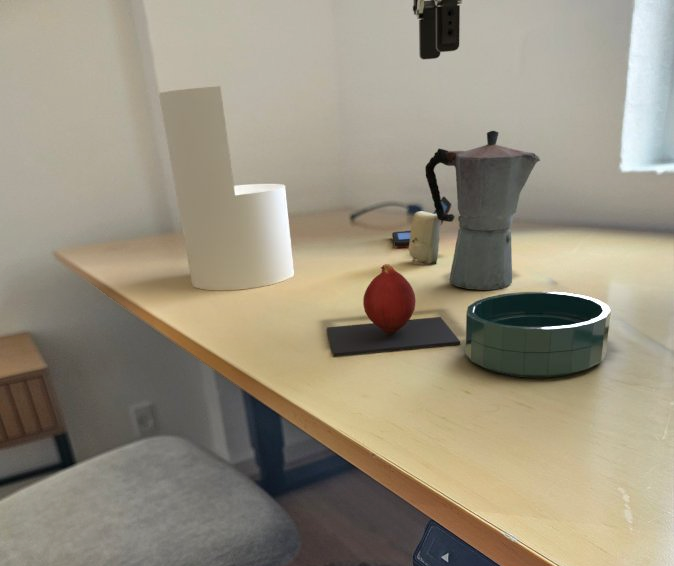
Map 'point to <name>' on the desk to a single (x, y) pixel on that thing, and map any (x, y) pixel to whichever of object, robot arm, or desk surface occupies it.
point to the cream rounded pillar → (424, 238)
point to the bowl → (537, 333)
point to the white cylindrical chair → (222, 200)
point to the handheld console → (403, 237)
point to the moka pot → (483, 210)
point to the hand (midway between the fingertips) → (438, 55)
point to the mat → (390, 337)
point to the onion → (389, 300)
